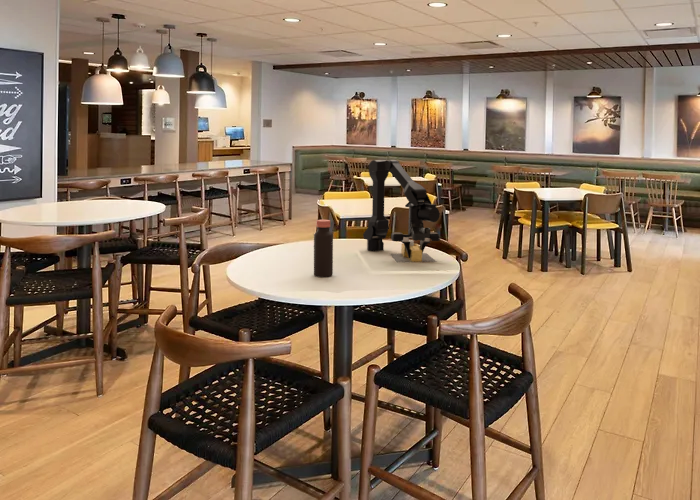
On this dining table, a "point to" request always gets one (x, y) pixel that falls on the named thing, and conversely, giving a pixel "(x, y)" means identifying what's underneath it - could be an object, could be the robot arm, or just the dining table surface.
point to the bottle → (323, 250)
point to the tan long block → (412, 253)
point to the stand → (400, 258)
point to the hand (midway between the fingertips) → (414, 257)
